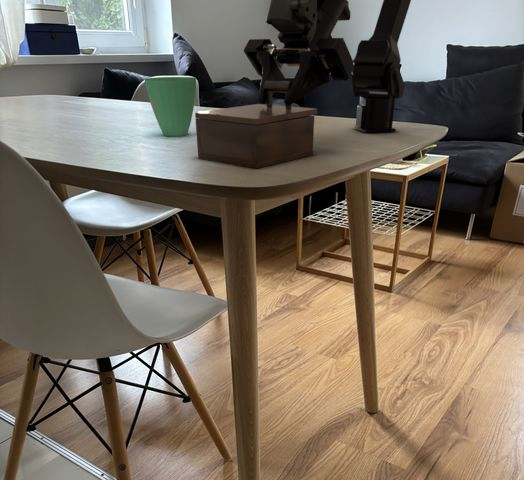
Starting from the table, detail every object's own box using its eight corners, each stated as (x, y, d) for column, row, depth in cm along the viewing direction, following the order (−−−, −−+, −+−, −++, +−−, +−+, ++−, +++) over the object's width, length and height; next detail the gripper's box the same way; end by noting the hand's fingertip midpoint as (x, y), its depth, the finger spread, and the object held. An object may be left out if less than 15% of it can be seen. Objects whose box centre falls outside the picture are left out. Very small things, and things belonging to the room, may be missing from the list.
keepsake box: (255, 146, 90) (254, 110, 87) (312, 155, 82) (314, 115, 79) (198, 158, 81) (195, 118, 78) (256, 168, 74) (256, 125, 71)
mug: (203, 136, 100) (200, 78, 94) (153, 139, 97) (146, 80, 92) (192, 126, 112) (188, 75, 107) (146, 129, 109) (140, 76, 104)
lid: (258, 109, 87) (257, 78, 85) (317, 114, 80) (318, 81, 77) (195, 118, 78) (192, 84, 76) (256, 125, 71) (255, 88, 68)
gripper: (249, -21, 81) (203, 62, 79) (349, -32, 70) (297, 64, 69) (281, 37, 90) (240, 112, 88) (373, 35, 79) (328, 121, 78)
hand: (273, 103), depth 81 cm, fingers closed on lid, 5 cm apart
